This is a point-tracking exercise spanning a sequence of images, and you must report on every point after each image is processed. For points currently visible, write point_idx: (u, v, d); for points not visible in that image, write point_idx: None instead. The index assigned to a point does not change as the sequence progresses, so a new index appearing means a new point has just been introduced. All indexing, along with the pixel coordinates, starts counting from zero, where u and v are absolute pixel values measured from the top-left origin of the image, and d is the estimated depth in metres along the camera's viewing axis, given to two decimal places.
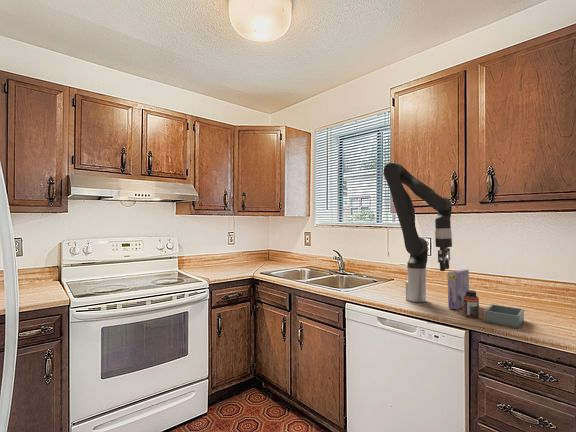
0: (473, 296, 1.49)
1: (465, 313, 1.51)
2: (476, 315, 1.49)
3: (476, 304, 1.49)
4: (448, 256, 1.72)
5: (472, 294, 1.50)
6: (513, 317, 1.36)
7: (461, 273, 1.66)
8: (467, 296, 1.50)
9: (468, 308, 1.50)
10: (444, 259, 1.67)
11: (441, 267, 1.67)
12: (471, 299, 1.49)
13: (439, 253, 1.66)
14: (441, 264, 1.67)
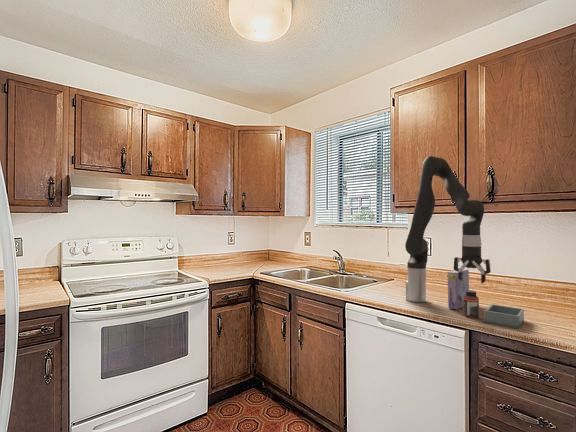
0: (473, 296, 1.49)
1: (465, 313, 1.51)
2: (476, 315, 1.49)
3: (476, 304, 1.49)
4: None
5: (472, 294, 1.50)
6: (513, 317, 1.36)
7: None
8: (467, 296, 1.50)
9: (468, 308, 1.50)
10: (483, 269, 1.50)
11: (485, 278, 1.48)
12: (471, 299, 1.49)
13: (488, 263, 1.47)
14: (485, 275, 1.48)
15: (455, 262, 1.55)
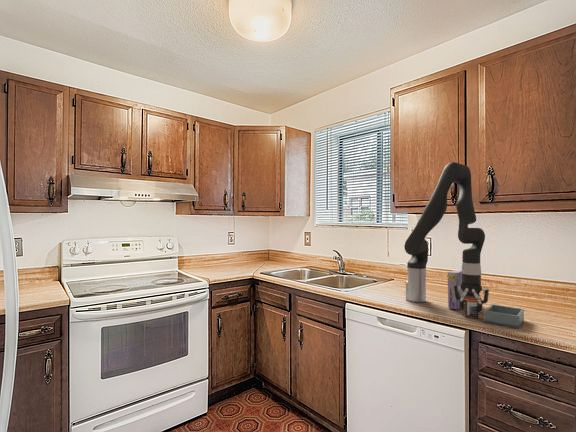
0: (473, 296, 1.49)
1: (465, 313, 1.51)
2: (476, 315, 1.49)
3: (476, 304, 1.49)
4: None
5: (472, 294, 1.50)
6: (513, 317, 1.36)
7: (461, 273, 1.66)
8: (467, 296, 1.50)
9: (468, 308, 1.50)
10: None
11: (481, 308, 1.49)
12: (471, 299, 1.49)
13: (487, 293, 1.47)
14: None
15: (455, 290, 1.55)
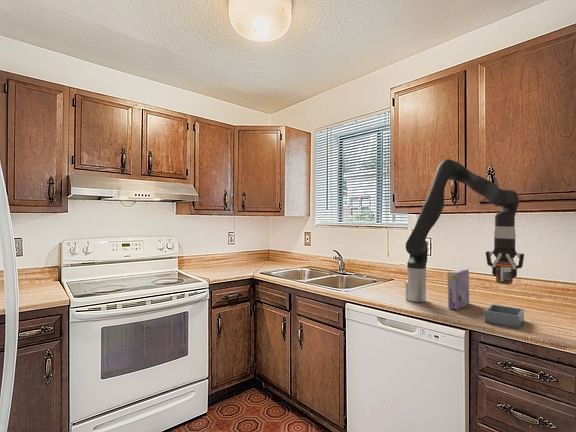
0: (507, 261, 1.42)
1: (498, 279, 1.44)
2: (510, 281, 1.42)
3: (510, 269, 1.41)
4: None
5: (506, 259, 1.42)
6: (513, 317, 1.36)
7: (461, 273, 1.66)
8: (501, 262, 1.43)
9: (501, 274, 1.42)
10: (515, 264, 1.43)
11: (516, 273, 1.41)
12: (505, 264, 1.42)
13: (523, 258, 1.40)
14: (516, 270, 1.41)
15: (487, 256, 1.47)
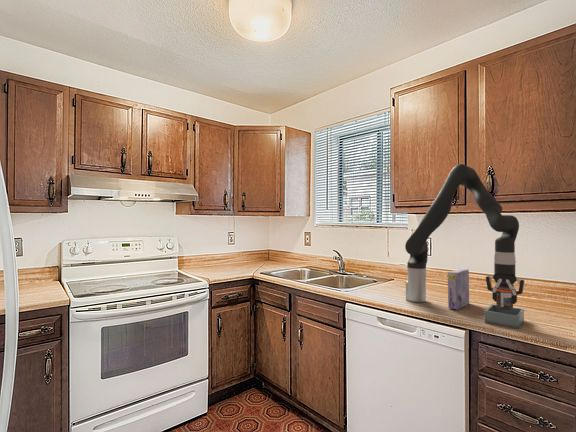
0: (507, 287, 1.42)
1: (498, 305, 1.44)
2: (510, 307, 1.42)
3: (510, 295, 1.41)
4: None
5: (506, 285, 1.42)
6: (513, 317, 1.36)
7: (461, 273, 1.66)
8: (501, 287, 1.43)
9: (502, 299, 1.42)
10: (515, 289, 1.43)
11: (516, 299, 1.41)
12: (505, 290, 1.42)
13: (523, 284, 1.40)
14: (516, 296, 1.41)
15: (487, 281, 1.47)
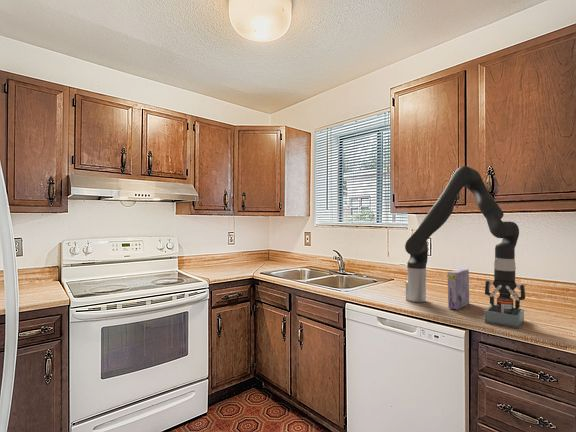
0: (508, 298, 1.42)
1: None
2: None
3: (511, 306, 1.41)
4: None
5: (506, 296, 1.42)
6: (513, 317, 1.36)
7: (461, 273, 1.66)
8: (501, 298, 1.43)
9: (502, 311, 1.42)
10: None
11: (519, 305, 1.41)
12: (506, 301, 1.42)
13: (524, 288, 1.39)
14: (519, 301, 1.41)
15: (486, 286, 1.47)
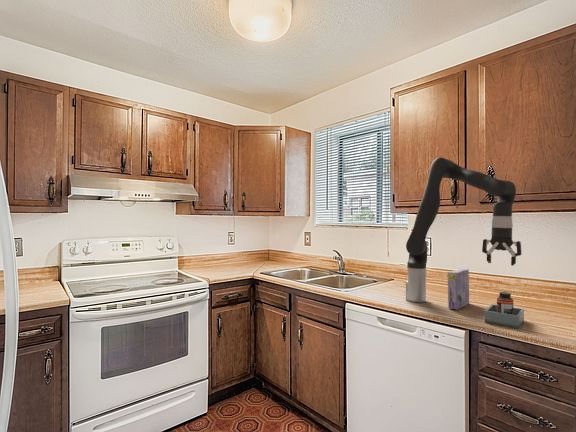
0: (508, 298, 1.42)
1: None
2: None
3: (511, 306, 1.41)
4: None
5: (506, 296, 1.42)
6: (513, 317, 1.36)
7: (461, 273, 1.66)
8: (501, 298, 1.43)
9: (502, 311, 1.42)
10: None
11: (515, 261, 1.44)
12: (506, 301, 1.41)
13: (520, 245, 1.43)
14: (515, 257, 1.44)
15: (484, 244, 1.51)
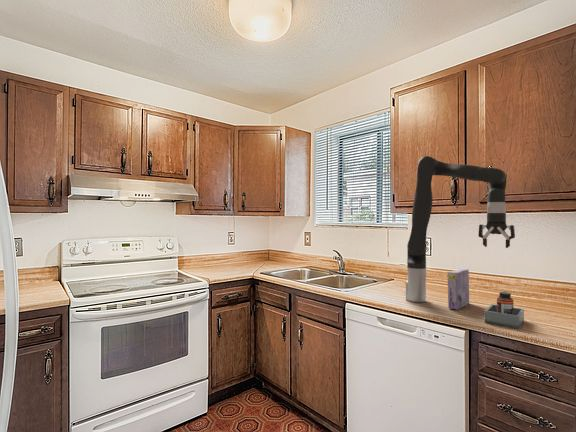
0: (508, 298, 1.42)
1: None
2: None
3: (511, 306, 1.41)
4: (491, 232, 1.61)
5: (506, 296, 1.42)
6: (513, 317, 1.36)
7: (461, 273, 1.66)
8: (501, 298, 1.43)
9: (502, 311, 1.42)
10: None
11: (509, 243, 1.55)
12: (506, 301, 1.42)
13: (513, 228, 1.54)
14: (509, 240, 1.55)
15: (480, 229, 1.62)
